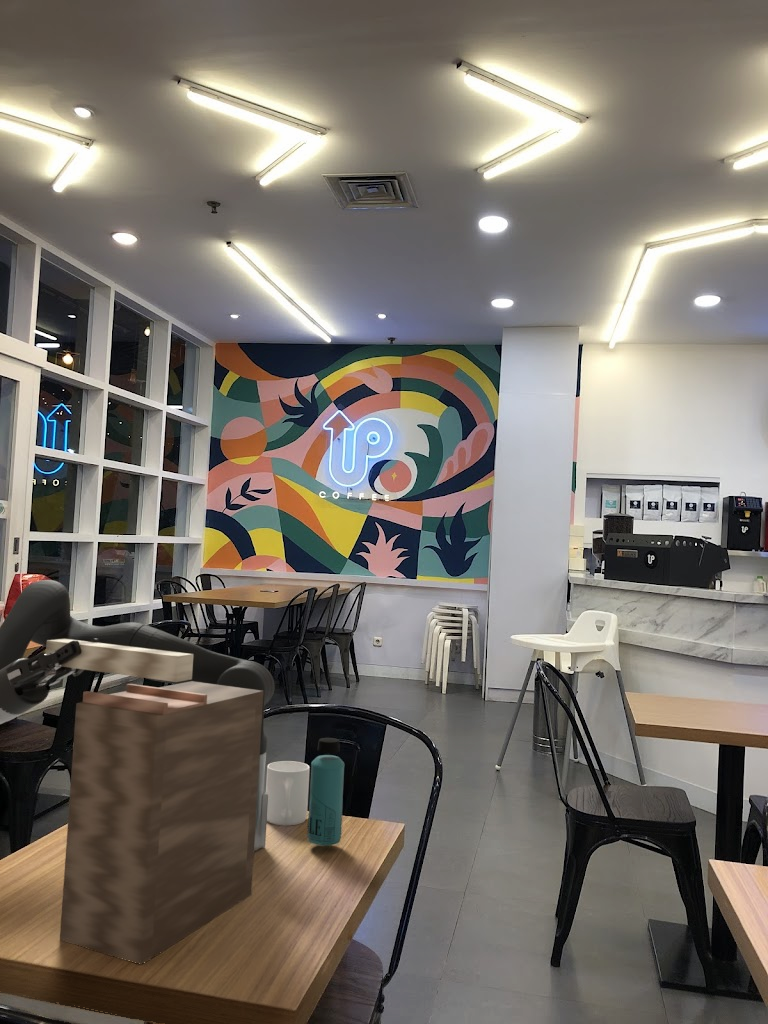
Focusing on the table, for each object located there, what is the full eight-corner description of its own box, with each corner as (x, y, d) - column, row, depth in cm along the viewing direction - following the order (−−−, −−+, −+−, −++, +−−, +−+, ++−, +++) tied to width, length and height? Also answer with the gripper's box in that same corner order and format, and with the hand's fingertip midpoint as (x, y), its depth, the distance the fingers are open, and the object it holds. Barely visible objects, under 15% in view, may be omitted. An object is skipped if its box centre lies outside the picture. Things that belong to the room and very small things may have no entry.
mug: (263, 832, 162) (266, 775, 162) (264, 812, 174) (267, 760, 174) (307, 832, 163) (310, 776, 163) (306, 813, 175) (309, 761, 175)
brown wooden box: (59, 939, 114) (77, 693, 116) (179, 876, 138) (192, 672, 139) (141, 965, 108) (158, 705, 110) (251, 894, 132) (263, 681, 134)
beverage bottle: (346, 845, 157) (352, 737, 158) (332, 856, 150) (338, 744, 151) (314, 839, 159) (320, 733, 160) (299, 850, 153) (306, 740, 154)
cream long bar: (45, 664, 124) (46, 640, 124) (62, 661, 127) (64, 638, 127) (176, 682, 114) (177, 656, 114) (191, 679, 117) (193, 654, 118)
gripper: (-37, 674, 123) (43, 624, 118) (38, 665, 136) (114, 619, 130) (-22, 722, 121) (60, 674, 116) (53, 708, 134) (130, 663, 129)
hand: (88, 645), depth 123 cm, fingers closed on cream long bar, 3 cm apart
